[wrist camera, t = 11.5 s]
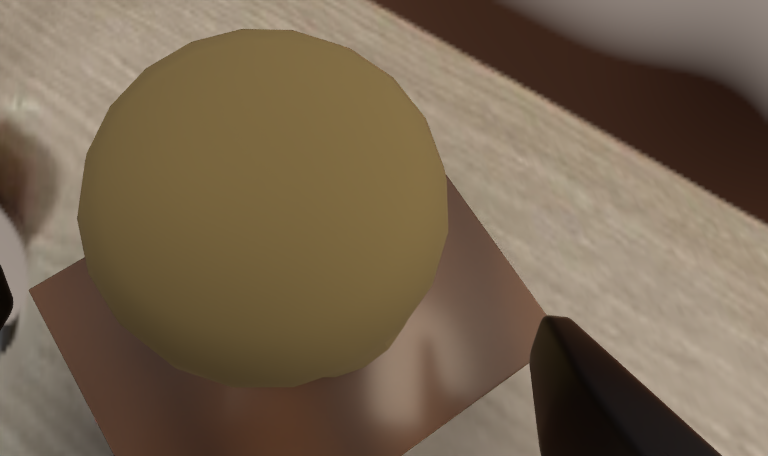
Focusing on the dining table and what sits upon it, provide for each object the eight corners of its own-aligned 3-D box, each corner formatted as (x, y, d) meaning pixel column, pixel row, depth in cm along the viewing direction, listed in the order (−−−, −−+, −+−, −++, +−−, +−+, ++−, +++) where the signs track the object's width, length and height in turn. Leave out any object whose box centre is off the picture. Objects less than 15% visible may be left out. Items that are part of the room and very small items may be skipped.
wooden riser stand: (231, 546, 19) (191, 607, 14) (98, 301, 21) (27, 289, 16) (521, 339, 21) (563, 338, 17) (378, 134, 23) (381, 83, 18)
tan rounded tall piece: (200, 242, 17) (-85, 59, 6) (364, 166, 18) (364, -113, 7) (276, 413, 16) (89, 559, 5) (447, 323, 17) (601, 281, 6)
